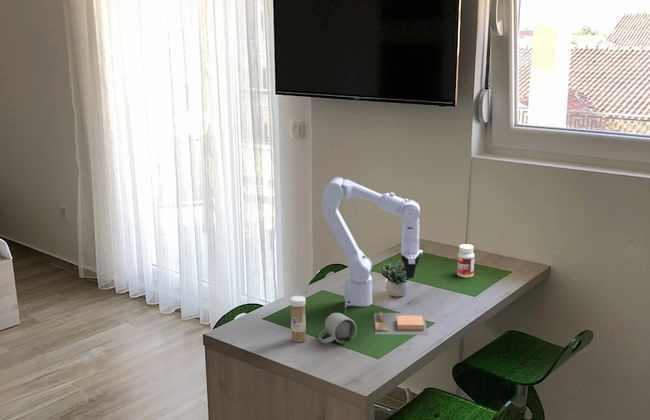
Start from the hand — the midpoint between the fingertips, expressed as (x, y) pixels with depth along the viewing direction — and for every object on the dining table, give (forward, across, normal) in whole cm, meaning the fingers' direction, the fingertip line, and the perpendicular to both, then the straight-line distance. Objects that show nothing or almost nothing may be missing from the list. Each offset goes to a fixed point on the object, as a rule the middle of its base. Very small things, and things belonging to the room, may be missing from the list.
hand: (409, 277), depth 228 cm
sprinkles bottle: (+11, -25, +35) cm, 44 cm away
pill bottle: (+11, +30, -23) cm, 39 cm away
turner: (+10, -14, +10) cm, 20 cm away
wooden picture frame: (+9, -13, +1) cm, 16 cm away
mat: (+10, -15, +4) cm, 19 cm away
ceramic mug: (+11, -25, +24) cm, 36 cm away
